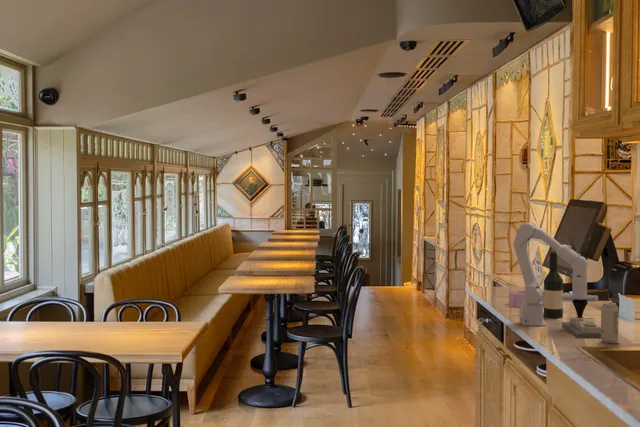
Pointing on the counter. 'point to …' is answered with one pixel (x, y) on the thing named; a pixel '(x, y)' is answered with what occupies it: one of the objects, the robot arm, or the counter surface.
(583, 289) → the robot arm
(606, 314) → the energy drink can
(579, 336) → the mount board
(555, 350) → the counter surface
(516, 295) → the pink rectangular box
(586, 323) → the knob
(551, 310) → the wine bottle
